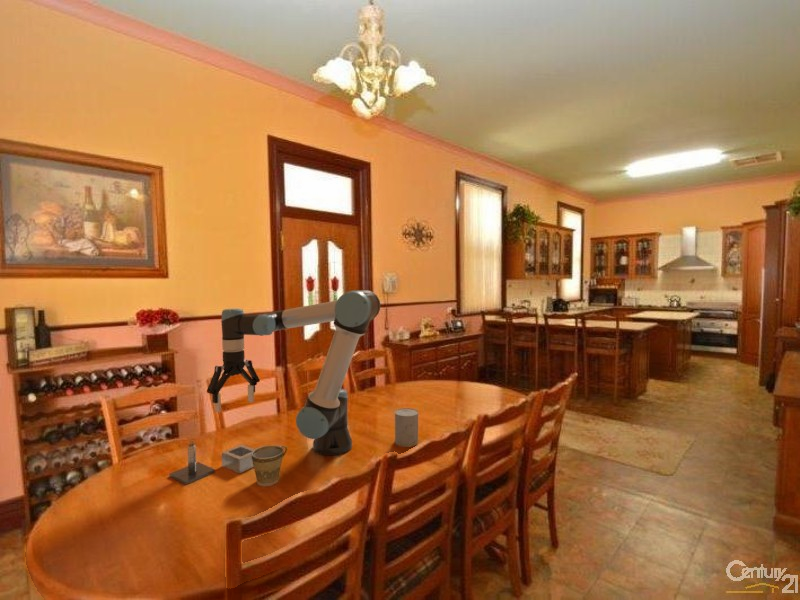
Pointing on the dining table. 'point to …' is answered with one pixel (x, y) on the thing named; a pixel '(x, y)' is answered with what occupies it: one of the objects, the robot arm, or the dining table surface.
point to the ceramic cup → (268, 464)
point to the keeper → (191, 468)
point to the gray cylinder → (406, 427)
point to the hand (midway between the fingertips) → (235, 406)
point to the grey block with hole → (238, 458)
